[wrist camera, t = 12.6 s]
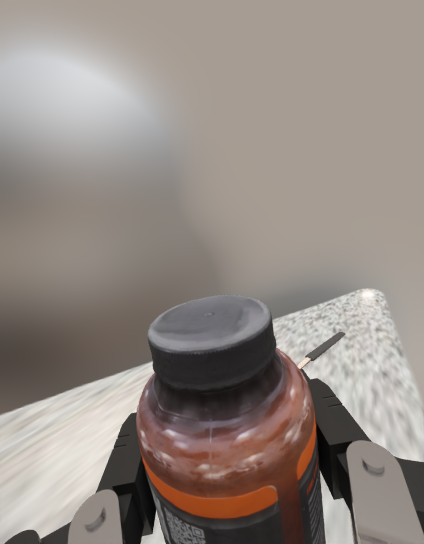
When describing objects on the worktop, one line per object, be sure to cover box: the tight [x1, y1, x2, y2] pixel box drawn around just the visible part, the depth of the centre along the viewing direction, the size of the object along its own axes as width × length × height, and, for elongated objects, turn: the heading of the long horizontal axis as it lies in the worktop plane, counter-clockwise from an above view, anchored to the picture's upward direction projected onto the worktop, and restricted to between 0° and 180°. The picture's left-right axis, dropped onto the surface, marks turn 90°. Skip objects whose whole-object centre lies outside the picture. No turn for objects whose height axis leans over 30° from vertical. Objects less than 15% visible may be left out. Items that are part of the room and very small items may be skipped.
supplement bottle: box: [136, 295, 326, 544], centre depth 8 cm, size 6×6×11 cm
